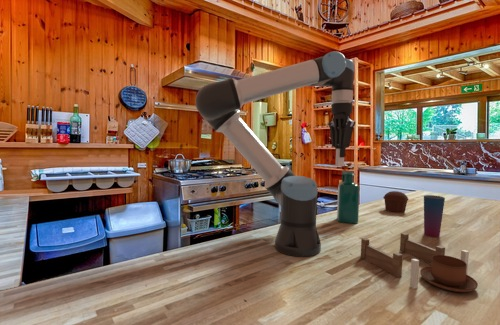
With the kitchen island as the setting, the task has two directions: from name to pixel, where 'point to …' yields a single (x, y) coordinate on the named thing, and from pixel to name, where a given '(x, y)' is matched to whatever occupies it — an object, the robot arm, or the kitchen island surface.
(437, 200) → the cup
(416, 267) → the posts
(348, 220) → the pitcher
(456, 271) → the cup and saucer
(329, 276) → the kitchen island surface
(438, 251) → the brown wooden rail pair
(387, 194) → the muffin
